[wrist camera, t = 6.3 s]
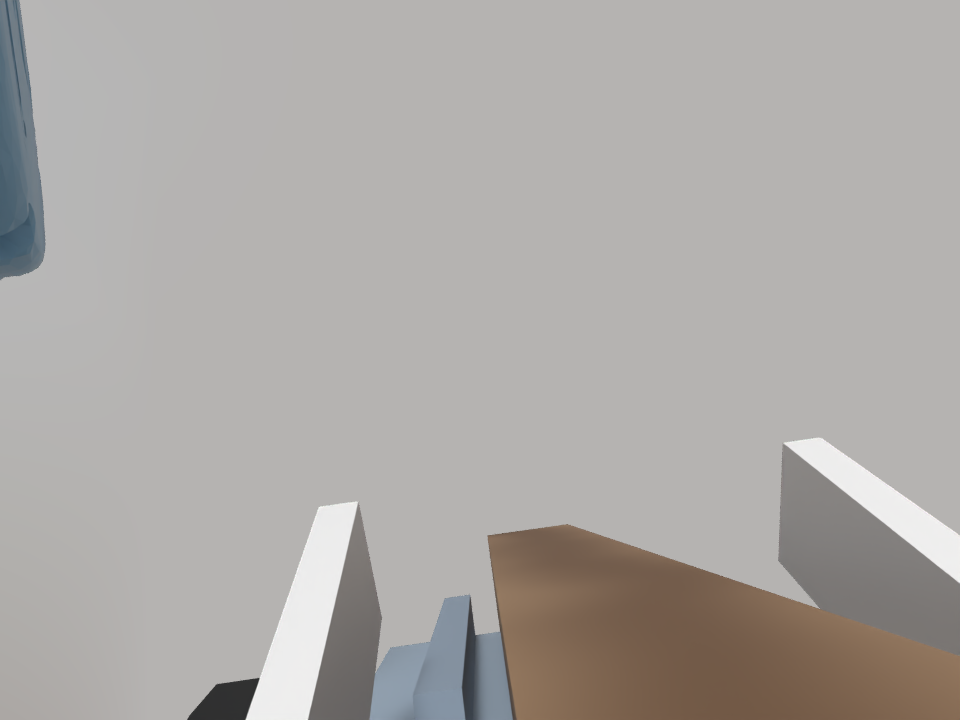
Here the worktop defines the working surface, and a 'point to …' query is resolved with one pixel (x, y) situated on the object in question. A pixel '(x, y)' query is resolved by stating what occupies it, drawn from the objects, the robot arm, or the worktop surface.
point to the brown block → (690, 643)
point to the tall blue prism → (445, 673)
